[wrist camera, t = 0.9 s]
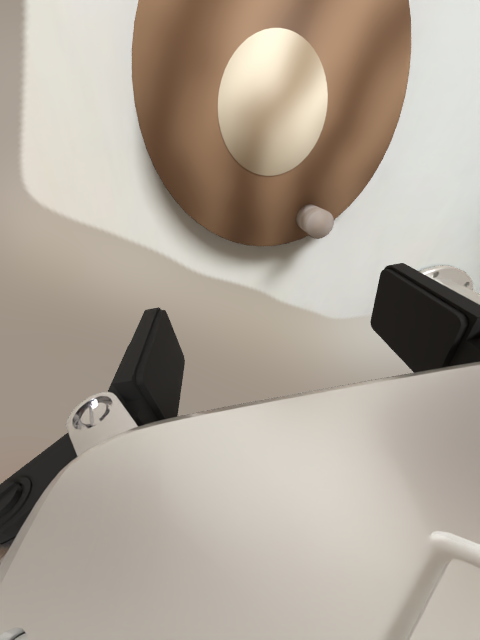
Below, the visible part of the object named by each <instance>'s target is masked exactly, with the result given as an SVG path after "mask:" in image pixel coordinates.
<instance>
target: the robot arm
mask: <svg viewBox="0 0 480 640" xmlns="http://www.w3.org/2000/svg"><path fill="white" fill-rule="evenodd" d="M371 326H372V328H373V330H374V331H375V332H376V333H377V334H378V335H379V336H380V337H381V338H382V339H383V340H384V341H385V342H386V343H387V344H388V345H389V347H390V348H391V349H392V350H393V351H394V352H395V353H396V354H397V355H398V356H399V357H400V358H401V359H402V360H403V361H404V362H405V363H406V365H407V366H408V367H409V368H410V369H411V370H412V371H413V372H414V373H410V374H404V375H399V376H393V377H387V378H381V379H376V380H371V381H365V382H359V383H353V384H348V385H342V386H337V387H331V388H326V389H321V390H314V391H309V392H303V393H298V394H292V395H287V396H282V397H276V398H271V399H265V400H260V401H255V402H249V403H244V404H239V405H233V406H228V407H222V408H217V409H213V410H207V411H202V412H197V413H192V414H188V415H182V416H177V415H178V408H179V400H180V392H181V386H182V378H183V371H184V362H185V360H184V355H183V353H182V350H181V348H180V345H179V343H178V340H177V338H176V335H175V333H174V330H173V328H172V325H171V323H170V320H169V318H168V315H167V313H166V311H165V310H161V309H160V308H154V309H148V310H145V311H144V314H143V316H142V318H141V320H140V323H139V325H138V327H137V329H136V332H135V334H134V336H133V338H132V341H131V343H130V344H129V346H128V348H127V350H126V352H125V355H124V357H123V359H122V361H121V364H120V366H119V368H118V370H117V372H116V374H115V377H114V379H113V381H112V383H111V386H110V388H109V390H108V392H102V393H98V394H95V395H93V396H91V397H89V398H87V399H85V400H84V401H83V402H82V403H80V404H79V405H78V406H77V407H76V408H75V409H74V410H73V412H72V413H71V415H70V416H69V418H68V421H67V431H68V433H67V434H66V435H64V436H63V437H62V438H60V439H59V440H58V441H56V442H55V443H54V444H53V445H51V446H50V447H49V448H47V449H46V450H45V451H43V452H42V453H41V454H39V455H38V456H37V457H35V458H34V459H33V460H32V461H30V462H29V463H28V464H26V465H25V466H24V467H22V468H21V469H20V470H19V471H17V472H16V473H15V474H13V475H12V476H11V477H9V478H8V479H7V480H5V481H4V482H3V483H1V484H0V640H480V294H478V293H476V292H474V291H473V284H472V281H471V278H470V276H469V275H468V274H467V273H466V272H464V271H462V270H460V269H458V268H455V267H452V266H444V265H442V266H434V267H430V268H426V269H423V270H421V271H417V270H415V269H413V268H411V267H410V266H408V265H406V264H404V263H400V264H394V265H389V266H387V267H386V268H385V269H384V270H383V271H382V272H381V274H380V279H379V284H378V289H377V293H376V298H375V303H374V308H373V313H372V317H371Z"/></svg>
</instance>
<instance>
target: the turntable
mask: <svg viewBox="0 0 480 640" xmlns="http://www.w3.org/2000/svg"><path fill="white" fill-rule="evenodd" d="M410 56H411V17H410V8H409V0H139V2H138V7H137V12H136V17H135V22H134V32H133V43H132V82H133V91H134V100H135V107H136V111H137V116H138V121H139V126H140V129H141V133H142V136H143V139H144V142H145V145H146V149H147V151H148V153H149V156H150V158H151V160H152V163H153V165H154V167H155V169H156V171H157V173H158V175H159V176H160V178H161V180H162V182H163V184H164V185H165V187H166V188H167V190H168V191H169V192H170V194H171V195H172V197H173V198H174V199H175V201H176V202H177V203H178V204H179V205H180V206H181V207H182V208H183V210H184V211H185V212H186V213H187V214H188V215H190V216H191V217H192V218H193V219H194V220H195V221H196V222H197V223H199V224H200V225H202V226H203V227H205V228H206V229H207V230H209V231H211V232H213V233H214V234H216V235H218V236H220V237H222V238H225V239H228V240H230V241H233V242H236V243H241V244H245V245H253V246H275V245H280V244H286V243H290V242H293V241H296V240H299V239H302V238H304V237H306V236H308V235H310V236H311V237H313V238H323V237H325V236H326V235H328V234H329V232H330V231H331V230H332V227H333V224H334V219H335V218H337V217H338V216H339V215H340V214H341V213H342V212H343V211H344V210H345V209H346V208H347V207H349V206H350V205H351V203H352V202H353V201H354V200H355V199H356V198H357V197H358V195H359V194H360V193H361V192H362V191H363V189H364V188H365V186H366V185H367V184H368V182H369V181H370V179H371V178H372V176H373V175H374V173H375V171H376V170H377V168H378V166H379V164H380V163H381V161H382V159H383V157H384V155H385V153H386V151H387V149H388V146H389V144H390V142H391V140H392V137H393V134H394V132H395V129H396V126H397V123H398V121H399V117H400V113H401V110H402V106H403V102H404V98H405V93H406V88H407V82H408V76H409V68H410Z"/></svg>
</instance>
